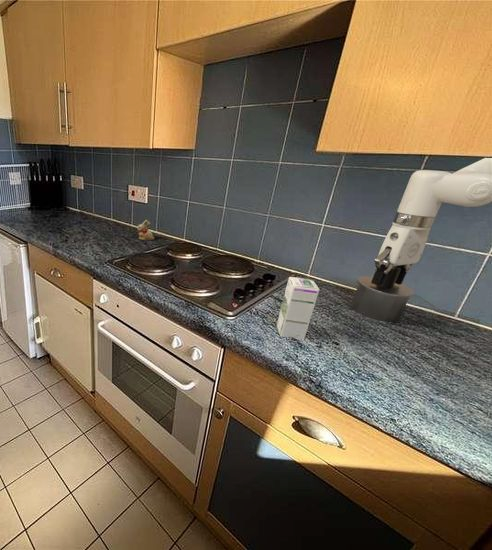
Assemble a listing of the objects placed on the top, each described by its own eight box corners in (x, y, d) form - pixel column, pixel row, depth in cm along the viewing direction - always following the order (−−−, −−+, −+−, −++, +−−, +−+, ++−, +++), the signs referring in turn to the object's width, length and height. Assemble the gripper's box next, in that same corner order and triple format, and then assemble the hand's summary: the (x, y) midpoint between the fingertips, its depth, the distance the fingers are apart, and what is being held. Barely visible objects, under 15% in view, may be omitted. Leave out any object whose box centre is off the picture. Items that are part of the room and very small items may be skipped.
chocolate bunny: (141, 236, 154) (142, 216, 150) (155, 239, 150) (156, 219, 146) (135, 238, 149) (136, 218, 145) (149, 241, 145) (150, 221, 141)
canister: (355, 300, 96) (365, 275, 93) (401, 314, 88) (413, 288, 85) (345, 311, 89) (355, 285, 85) (394, 328, 81) (407, 300, 78)
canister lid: (362, 276, 94) (370, 256, 91) (415, 290, 85) (425, 269, 83) (351, 287, 86) (359, 265, 83) (408, 304, 77) (419, 280, 75)
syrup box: (304, 341, 74) (322, 289, 68) (278, 337, 75) (293, 285, 70) (299, 329, 79) (314, 279, 73) (274, 325, 81) (288, 275, 75)
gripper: (406, 226, 72) (378, 293, 79) (451, 223, 77) (421, 286, 84) (374, 218, 78) (351, 281, 85) (418, 216, 83) (392, 275, 91)
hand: (386, 283), depth 85 cm, fingers open, 6 cm apart
